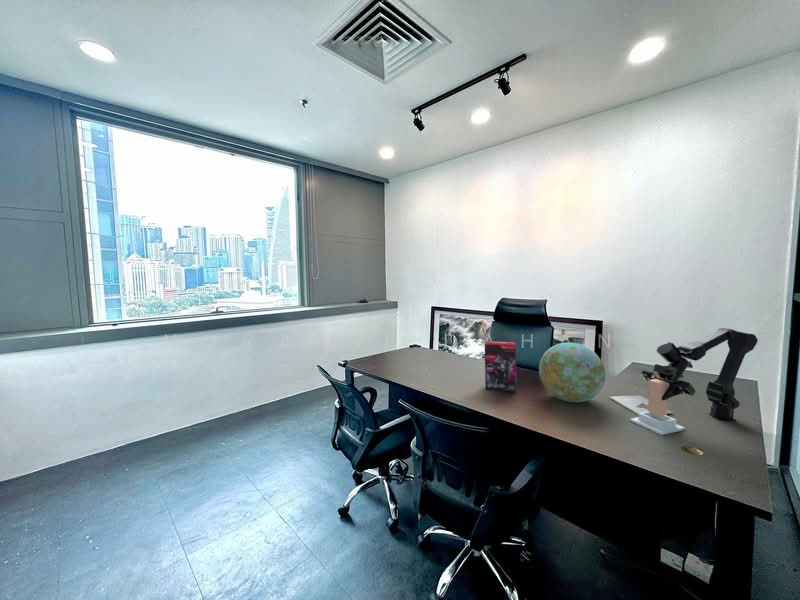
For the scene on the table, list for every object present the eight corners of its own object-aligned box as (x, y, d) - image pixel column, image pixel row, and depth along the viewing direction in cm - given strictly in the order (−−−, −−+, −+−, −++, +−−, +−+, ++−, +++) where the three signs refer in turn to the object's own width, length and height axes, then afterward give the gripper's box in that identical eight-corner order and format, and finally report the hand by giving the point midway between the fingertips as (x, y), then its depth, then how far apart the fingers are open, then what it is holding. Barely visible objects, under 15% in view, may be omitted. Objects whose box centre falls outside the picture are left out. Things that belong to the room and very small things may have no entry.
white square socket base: (652, 416, 145) (652, 407, 145) (684, 429, 133) (685, 420, 133) (630, 420, 142) (630, 412, 141) (661, 435, 129) (662, 425, 129)
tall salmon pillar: (654, 410, 140) (655, 378, 138) (667, 414, 135) (668, 382, 134) (647, 411, 139) (649, 380, 137) (660, 416, 134) (661, 383, 133)
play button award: (640, 395, 166) (673, 412, 147) (640, 398, 167) (673, 415, 147) (609, 396, 166) (638, 413, 146) (609, 399, 166) (638, 416, 146)
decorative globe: (556, 385, 187) (557, 334, 184) (614, 401, 163) (616, 343, 160) (527, 398, 169) (527, 343, 166) (587, 418, 145) (589, 354, 142)
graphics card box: (484, 390, 183) (484, 343, 181) (485, 385, 190) (485, 340, 187) (516, 392, 178) (516, 344, 175) (516, 388, 184) (516, 341, 182)
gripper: (644, 352, 145) (624, 379, 143) (691, 363, 127) (670, 394, 125) (656, 367, 148) (637, 393, 146) (704, 380, 130) (683, 410, 128)
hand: (655, 397), depth 136 cm, fingers closed on tall salmon pillar, 5 cm apart
